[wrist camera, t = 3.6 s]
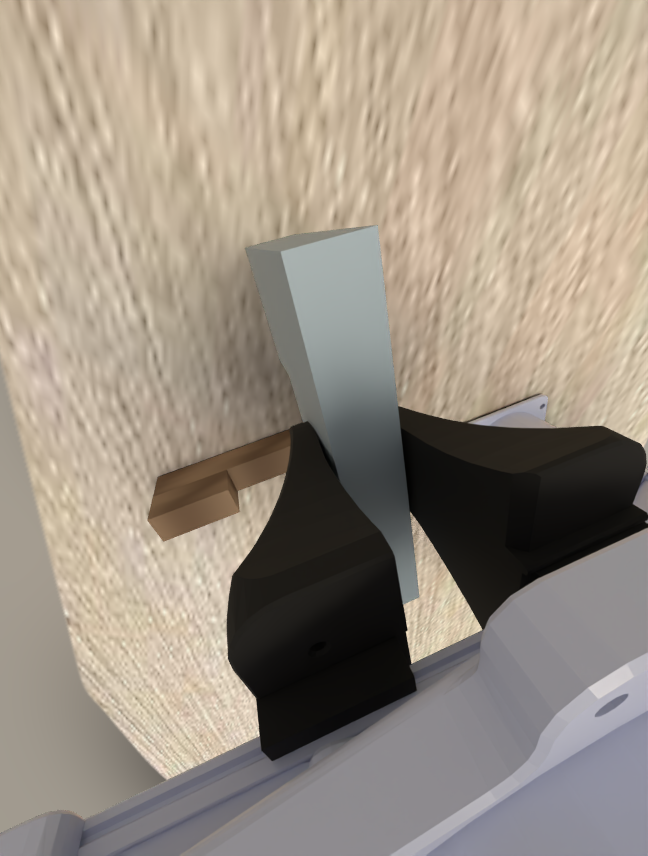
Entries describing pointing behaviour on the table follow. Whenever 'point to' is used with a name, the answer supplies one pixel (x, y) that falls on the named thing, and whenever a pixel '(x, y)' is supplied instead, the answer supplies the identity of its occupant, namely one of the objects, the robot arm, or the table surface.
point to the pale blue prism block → (343, 368)
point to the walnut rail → (214, 485)
